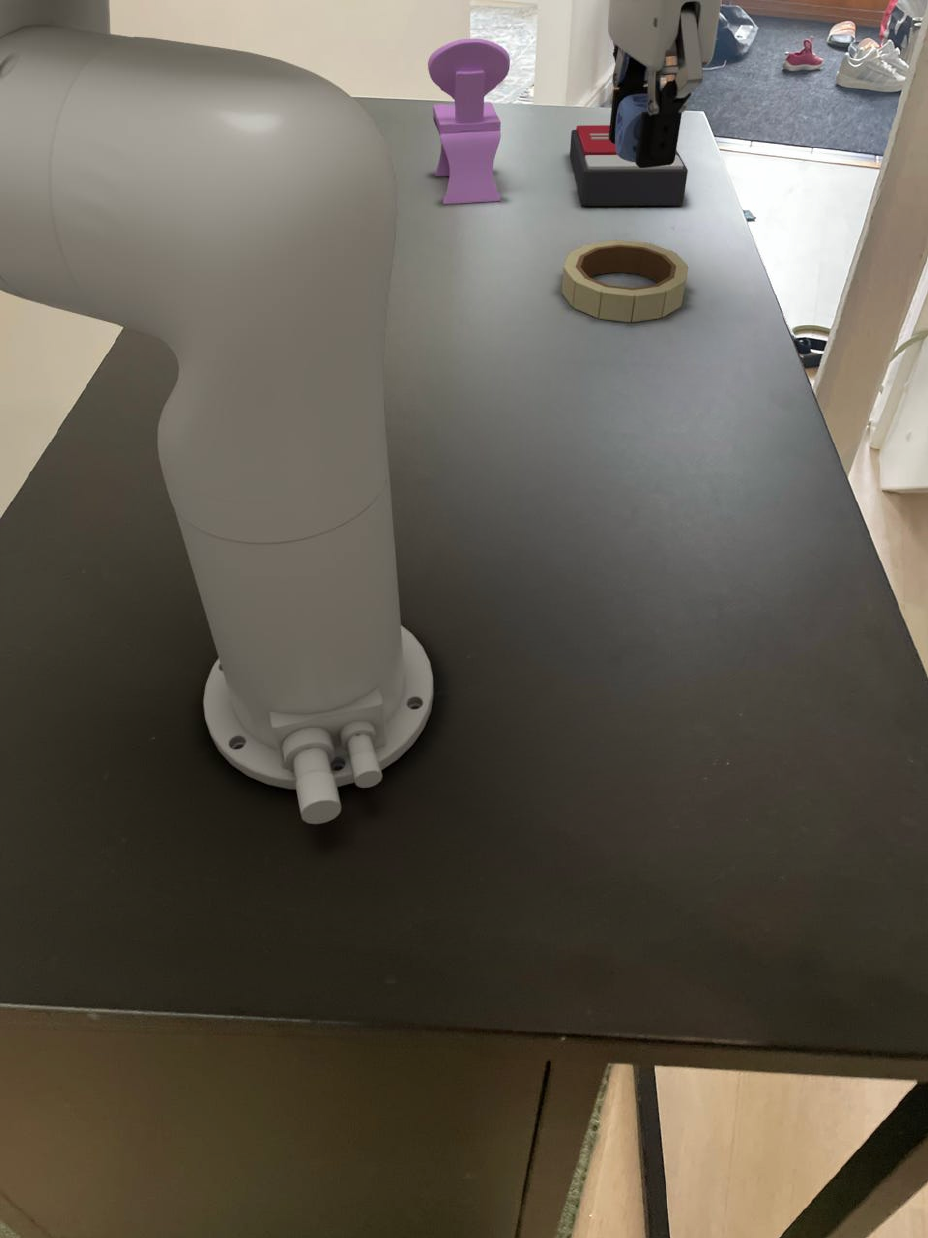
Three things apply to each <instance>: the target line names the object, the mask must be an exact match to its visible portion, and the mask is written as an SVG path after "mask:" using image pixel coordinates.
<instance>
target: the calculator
mask: <svg viewBox="0 0 928 1238" xmlns="http://www.w3.org/2000/svg"><path fill="white" fill-rule="evenodd" d="M609 128H610V124H606V125H605V124H604V125H603V124H602V125H601V124H600V125H599V124H597V125H590V124H589V125H586V124H585V125H576V129H572V130H571V134H570V146H569V147H570V148H569V159H570V162H571V166H572V170H573V174H574V177H575V180H576V185H577V194H578V199H579V202H580V205H581V206H585V207H586V206H587V207H593V206H594V207H595V206H597V207H598V206H600V207H601V206H602V207H603V206H604V207H605V206H607V207H608V206H609V207H611V206H613V207H615V206H616V207H617V206H618V207H619V206H621V207H623V206H629V207H630V206H682V205H683V204H684V198H685V192H686V186H687V178H688V172H689V170H688V168H687V166H686V164H685V162H684V161H683V159H682V158H681V155H680V153H679V151H678V150H677V149H676V155H675V160H674V162H673V163H672V164H671V165H665V166H656V167H648V168H639V167H638V166H637V165H636V163H635V162H630V161H626V160H624V159H622V158H620V157H619V156H618V155H617V153H616V148H615V144H613V143H612V142H611V141H610V140H609Z"/></svg>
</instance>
